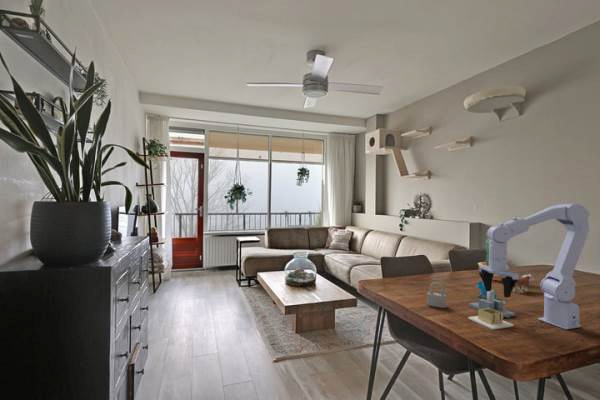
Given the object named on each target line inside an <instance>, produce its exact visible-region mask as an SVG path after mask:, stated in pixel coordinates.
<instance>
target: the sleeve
mask: <svg viewBox="0 0 600 400" xmlns="http://www.w3.org/2000/svg"><path fill="white" fill-rule="evenodd" d="M477 316H478V319H480V320H482V321H484V322H487V323H489V324H491V325H492V324H499V323H503V321H504V318H503V313H501V312H499V311H496V310H493V309H491V308H485V309H478V310H477Z"/></svg>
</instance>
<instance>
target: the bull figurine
mask: <svg viewBox="0 0 600 400" xmlns="http://www.w3.org/2000/svg"><path fill="white" fill-rule="evenodd" d="M531 281H535V278H534V276H533V275H532V274H530V273H529V274H524V275H522V276H519V279H518V281H517V283H516V284H515V285H514V287H513V289H512V291H513V292H516V287H517V289H518V291H520V292H521V293H522V294H523V293H524V291H525V292H528V287H529V284H530V282H531ZM524 287H525V288H524Z"/></svg>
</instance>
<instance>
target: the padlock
mask: <svg viewBox="0 0 600 400" xmlns="http://www.w3.org/2000/svg"><path fill="white" fill-rule="evenodd" d="M434 286H439V287H440V293H439V292H438V293H437V292H433V291H434ZM426 302H427V304H426V305H427V306H430V307H435V308H442V309H446V308H447V295H446V294H445V287H444V285H443V284H442V283H441V282H437V281H434V282H432V283H430V286H429V292H427V301H426Z"/></svg>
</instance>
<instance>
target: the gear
mask: <svg viewBox="0 0 600 400" xmlns="http://www.w3.org/2000/svg"><path fill="white" fill-rule="evenodd" d="M476 284H477V289H479V292H480V294H478V295H477V298H482V297H483V296H484V298H487V291H486V290H485V286H484V283H483V280H479V281H478V282H476ZM491 290H493V291H494V299H496V300H498V297H497V296H498V295H497V294H496V293H495V289H494V288H492V289H491Z"/></svg>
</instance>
